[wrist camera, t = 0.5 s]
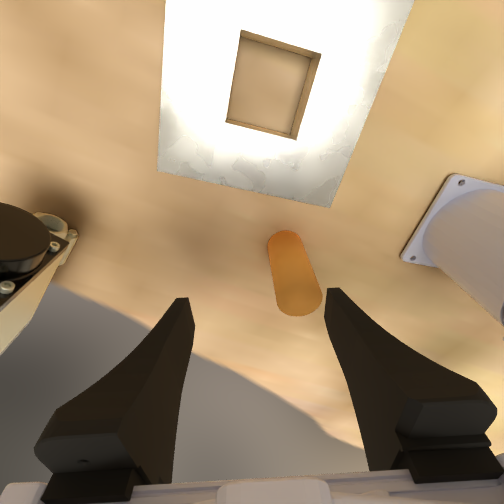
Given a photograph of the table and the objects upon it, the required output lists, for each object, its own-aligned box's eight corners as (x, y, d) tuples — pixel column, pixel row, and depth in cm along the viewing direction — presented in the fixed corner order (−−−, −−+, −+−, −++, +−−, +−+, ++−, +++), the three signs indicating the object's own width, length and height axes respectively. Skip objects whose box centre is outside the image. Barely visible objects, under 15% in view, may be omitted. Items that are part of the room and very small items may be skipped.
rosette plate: (490, -252, 11) (548, -330, 9) (320, 196, 21) (329, 208, 19) (205, -408, 10) (195, -550, 7) (166, 161, 20) (157, 170, 17)
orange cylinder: (306, 234, 23) (329, 285, 17) (295, 262, 25) (313, 318, 19) (272, 227, 23) (284, 277, 17) (263, 257, 24) (271, 312, 18)
